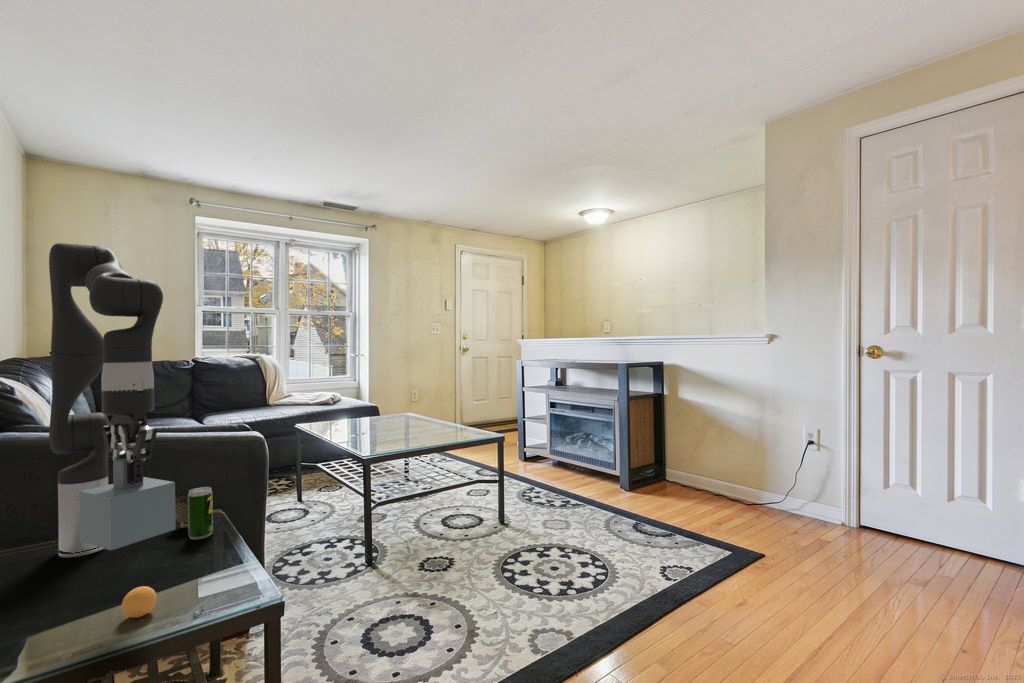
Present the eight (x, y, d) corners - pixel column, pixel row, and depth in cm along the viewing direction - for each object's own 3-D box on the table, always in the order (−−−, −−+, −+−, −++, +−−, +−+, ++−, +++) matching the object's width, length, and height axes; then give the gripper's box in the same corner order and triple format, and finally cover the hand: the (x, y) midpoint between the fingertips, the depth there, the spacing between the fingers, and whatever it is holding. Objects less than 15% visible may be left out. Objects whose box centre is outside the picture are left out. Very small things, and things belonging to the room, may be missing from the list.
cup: (183, 522, 136) (182, 494, 136) (210, 521, 137) (210, 492, 137) (166, 532, 129) (166, 502, 129) (195, 531, 129) (195, 501, 129)
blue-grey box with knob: (79, 541, 85) (79, 462, 86) (144, 522, 95) (143, 451, 95) (110, 550, 81) (110, 467, 81) (175, 529, 90) (174, 455, 90)
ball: (124, 629, 85) (112, 605, 86) (155, 613, 90) (143, 591, 91) (135, 613, 84) (122, 589, 85) (166, 598, 88) (153, 575, 90)
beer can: (188, 541, 122) (187, 493, 122) (188, 535, 126) (187, 489, 126) (213, 536, 125) (212, 490, 125) (212, 530, 129) (212, 485, 129)
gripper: (83, 388, 88) (84, 483, 88) (126, 389, 82) (127, 491, 82) (130, 385, 95) (131, 473, 95) (173, 386, 89) (174, 480, 88)
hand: (129, 481), depth 88 cm, fingers closed on blue-grey box with knob, 3 cm apart
